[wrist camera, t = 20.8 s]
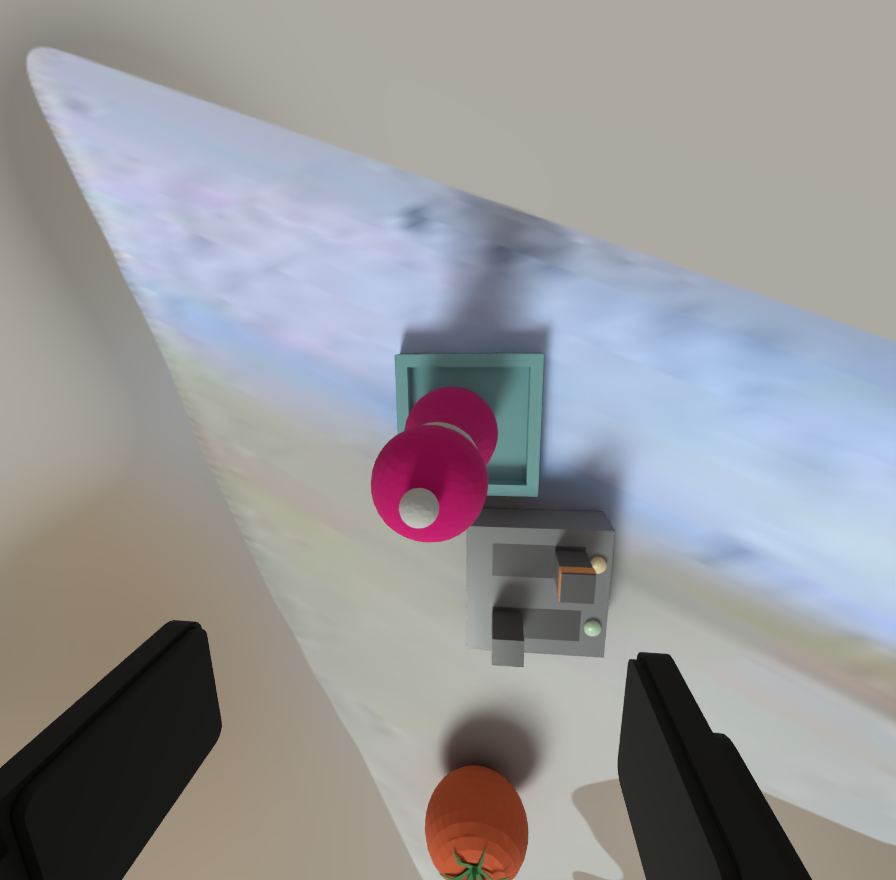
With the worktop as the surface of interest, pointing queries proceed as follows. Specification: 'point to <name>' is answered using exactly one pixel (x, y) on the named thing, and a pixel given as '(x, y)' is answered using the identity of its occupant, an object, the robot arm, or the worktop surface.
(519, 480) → the tray
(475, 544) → the breaker panel
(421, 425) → the pepper mill
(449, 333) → the worktop surface
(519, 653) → the block
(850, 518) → the worktop surface
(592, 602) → the tagged breaker
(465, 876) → the tomato
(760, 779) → the worktop surface
